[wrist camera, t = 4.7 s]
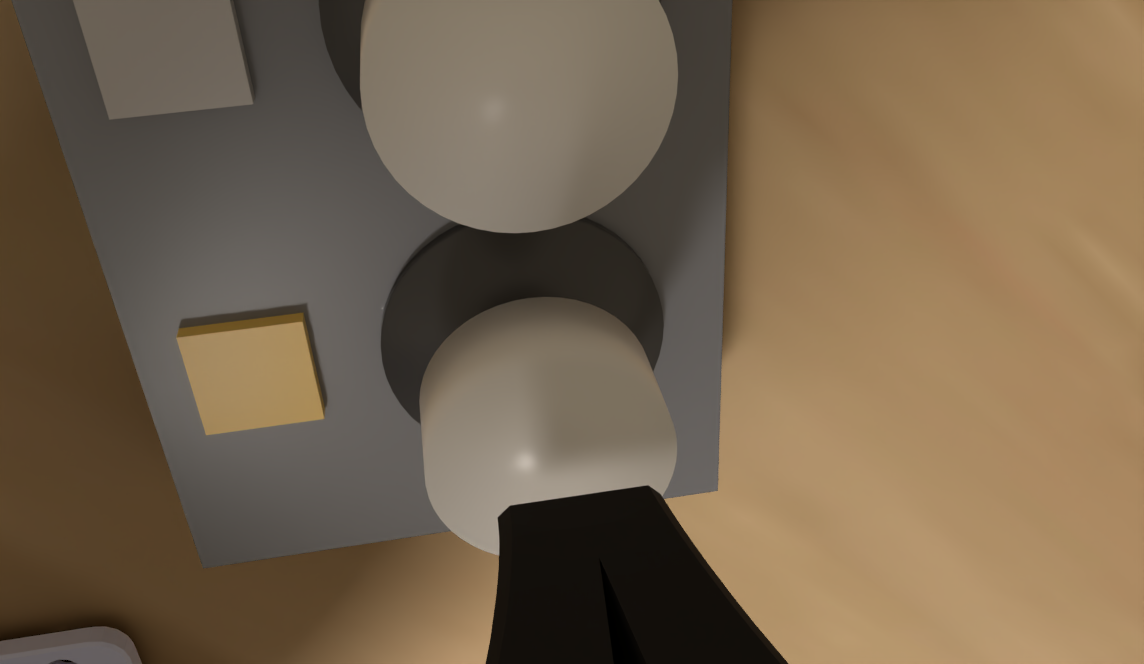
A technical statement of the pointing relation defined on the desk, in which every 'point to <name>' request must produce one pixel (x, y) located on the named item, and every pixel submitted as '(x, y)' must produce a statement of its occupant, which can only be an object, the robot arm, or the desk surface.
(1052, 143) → the desk surface
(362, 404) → the switch panel
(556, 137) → the button middle
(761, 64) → the desk surface
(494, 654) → the robot arm
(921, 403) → the desk surface
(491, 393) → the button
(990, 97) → the desk surface
